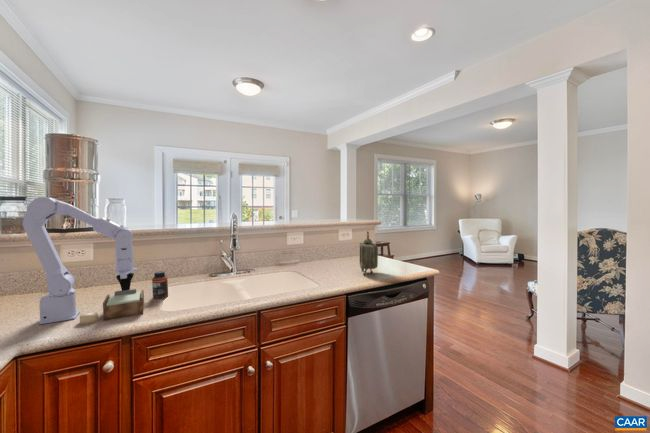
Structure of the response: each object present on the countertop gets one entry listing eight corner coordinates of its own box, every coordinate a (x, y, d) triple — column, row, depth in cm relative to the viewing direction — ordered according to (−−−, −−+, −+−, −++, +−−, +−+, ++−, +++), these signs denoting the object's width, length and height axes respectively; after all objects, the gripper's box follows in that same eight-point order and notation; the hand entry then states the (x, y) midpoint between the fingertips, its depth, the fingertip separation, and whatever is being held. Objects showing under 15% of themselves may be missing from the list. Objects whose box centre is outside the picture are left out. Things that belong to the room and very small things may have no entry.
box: (103, 320, 103) (102, 303, 103) (107, 310, 113) (107, 294, 112) (143, 313, 109) (142, 297, 109) (144, 304, 119) (143, 289, 118)
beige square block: (78, 325, 99) (77, 318, 99) (81, 320, 103) (81, 313, 103) (96, 322, 101) (96, 315, 101) (99, 317, 106) (98, 310, 106)
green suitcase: (359, 270, 177) (359, 229, 176) (374, 270, 177) (374, 230, 176) (361, 276, 163) (361, 232, 162) (377, 276, 163) (378, 232, 161)
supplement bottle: (164, 294, 133) (164, 269, 132) (170, 296, 129) (169, 271, 128) (150, 297, 128) (149, 272, 127) (155, 300, 124) (155, 274, 124)
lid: (106, 306, 103) (106, 300, 103) (110, 297, 113) (110, 291, 113) (139, 301, 108) (139, 295, 108) (140, 293, 118) (140, 288, 118)
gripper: (135, 260, 111) (136, 295, 112) (137, 254, 123) (138, 286, 124) (112, 262, 107) (114, 298, 108) (117, 256, 120) (118, 288, 120)
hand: (125, 292), depth 116 cm, fingers closed
